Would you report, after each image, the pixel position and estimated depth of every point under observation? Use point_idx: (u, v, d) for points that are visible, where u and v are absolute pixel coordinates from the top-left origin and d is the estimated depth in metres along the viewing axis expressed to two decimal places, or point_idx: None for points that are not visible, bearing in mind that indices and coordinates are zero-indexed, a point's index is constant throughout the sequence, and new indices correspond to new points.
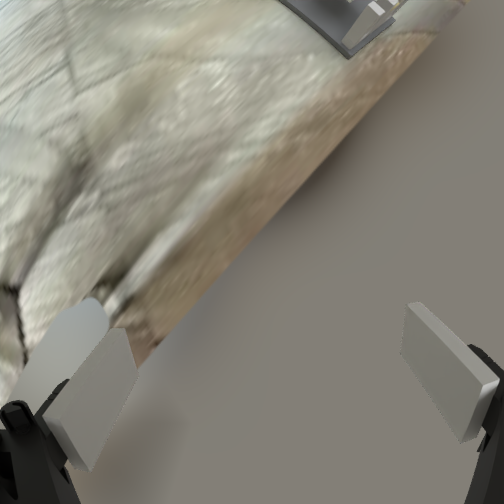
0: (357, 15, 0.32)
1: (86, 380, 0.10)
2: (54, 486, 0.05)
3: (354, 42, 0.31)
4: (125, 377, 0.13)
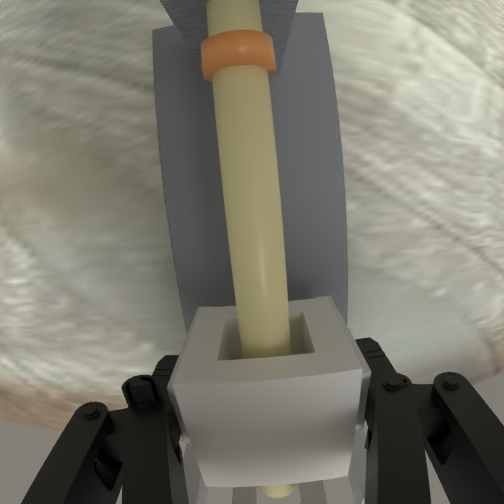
0: None
1: None
2: (169, 471, 0.06)
3: None
4: None
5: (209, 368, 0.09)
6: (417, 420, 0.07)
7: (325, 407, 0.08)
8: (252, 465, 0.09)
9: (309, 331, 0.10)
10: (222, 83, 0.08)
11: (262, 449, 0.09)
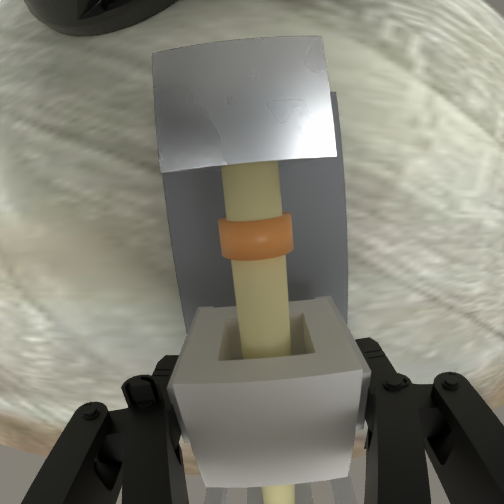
0: None
1: None
2: (168, 471, 0.06)
3: None
4: None
5: (209, 368, 0.09)
6: (417, 420, 0.07)
7: (325, 407, 0.08)
8: (252, 465, 0.09)
9: (309, 332, 0.10)
10: (242, 272, 0.09)
11: (262, 450, 0.09)
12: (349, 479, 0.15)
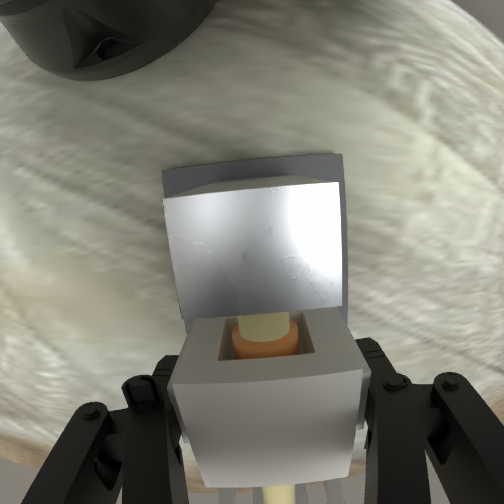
0: None
1: None
2: (168, 471, 0.06)
3: None
4: None
5: (209, 368, 0.09)
6: (417, 420, 0.07)
7: (325, 407, 0.08)
8: (252, 465, 0.09)
9: (309, 331, 0.10)
10: None
11: (262, 450, 0.09)
12: None
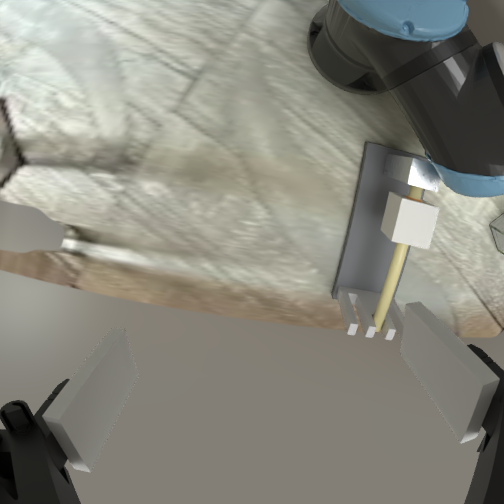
0: (372, 283, 0.47)
1: (86, 380, 0.10)
2: (54, 486, 0.05)
3: (339, 301, 0.47)
4: (125, 377, 0.13)
5: (407, 199, 0.33)
6: None
7: (430, 216, 0.33)
8: (408, 232, 0.34)
9: (424, 202, 0.34)
10: None
11: (412, 226, 0.33)
12: (402, 314, 0.42)
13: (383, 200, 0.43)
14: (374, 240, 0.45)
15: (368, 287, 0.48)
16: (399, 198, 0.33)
